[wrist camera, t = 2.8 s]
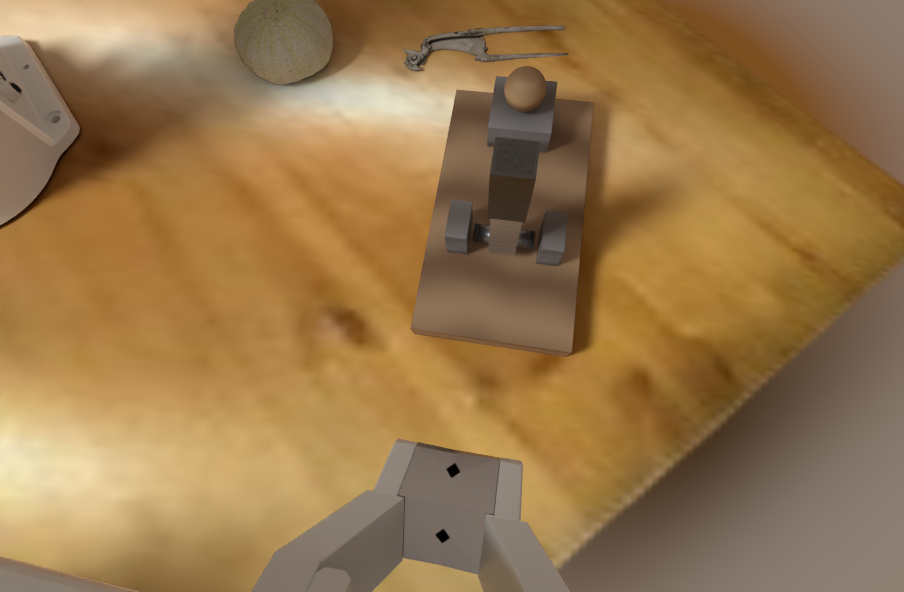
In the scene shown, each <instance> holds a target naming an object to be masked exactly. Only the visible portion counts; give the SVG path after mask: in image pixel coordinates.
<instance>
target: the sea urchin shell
mask: <svg viewBox="0 0 904 592" xmlns="http://www.w3.org/2000/svg"><path fill="white" fill-rule="evenodd" d="M332 34H333V30H332V25H331V24H330V20H329V18H327V15H326V14H325V12H324V10H323V9H322V7H320V5H318V4H317V3H316V2H314V1H313V0H254V1H252V2H250V3H249V4H248V6H247V7H246V9H245V10H244V11H243V12H242V14H241V15H240V17H239V20H238V22H237V23H236V25H235V29H234V41H235V43H234V44H235V47H236V48H237V51H238V52H239V54H240V57H241V58H242V61H243V62H245V64H246V66H248V67H249V68H250V69H251V70H252V71H253V72H254V73H255V74H256V75H257V76H259V77H260V78H263V79H265V80H267V81H269V82H271V83H274V84H282V85H284V84H289V83H294V82H298V81H300V80H301V79H303V78H306V77H309V76H313V74H315V73H316V72H318V71H320V70H322V69H323V68H324V67H325V66H326V64H327V63H328V62H329V60H330V57H331V53H332V49H333V42H334V41H333V35H332Z"/></svg>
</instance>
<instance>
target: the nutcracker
mask: <svg viewBox="0 0 904 592" xmlns="http://www.w3.org/2000/svg"><path fill="white" fill-rule="evenodd" d="M544 30H564V26H526V27H500V28H485V29H483V28H477V29H471V30H467V31H459V32H451V33H445V34H439V35H434V36H429V37H427V38H425V39H424V41H423V44H422V45H421V51H420V52H416V51H414V50H406V49H404V51H405V52H406V53H407V54H409V55H408V56H407V57H406V58H407V60H406V61H405V62H404V64H406V65H405V66H407V67H408V68H410V70H412V71H413V70H415V71H416V70H422V68H420V67H418V65H420V64H422V65H423V64H424V63H425V61H426V58H427V57H428V56H429V54H430V53H431V52H434V51H439V50H455V51H460V52H465V53H468V54H471V55H475V56H476V57H475V61H477V60H479V61H481V62H494V61H501V60H511V59H523V58H536V57H548V56H562V55H568V53H531V54H509V55H488V54H486V51H487V50H488V47H486V48H485V46H486V44H485V39H484V38H480V37H483V36H485V35H490V34H496V33H507V32H524V31H544Z"/></svg>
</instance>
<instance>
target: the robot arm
mask: <svg viewBox="0 0 904 592" xmlns="http://www.w3.org/2000/svg"><path fill="white" fill-rule="evenodd" d="M79 130H80V128H79V125H78V123H77V121H76V120H75V118H74V116H73V115H72V113H71V112H70V110H69V108H68V107H67V105H66V103H65V102H64V100H63V98H62V97H61V95H60V93H59V92H58V90H57V89H56V87H55V85H54V84H53V82H52V80H51V79H50V77H49V75H48V74H47V72H46V70H45V69H44V67H43V65H42V64H41V62H40V61H39V59H38V57H37V56H36V54H35V52H34V51H33V49H32V48H31V46H30V45H29V44H28V43H27V42H26V41H24V40H23V39H22V38H20V37H18V36H0V225H1V224H3V223H5V222H7V221H8V220H10V219H11V218H13V217H14V216H16V215H17V214H18V213H20V212H21V211H22V210H23V209H25V208H26V207H27V206H28V205H29V204H30V203H31V202H32V201H33V200H34V199H35V198H36V197H37V195H38V194H39V193H40V192H41V190H42V189H43V188H44V186H45V185H46V183H47V181H48V180H49V178H50V176H51V174H52V172H53V169H54V167H55V165H56V163H57V161H58V159H59V157H60V155H61V154H62V153H63V152H64V151H65V150H66V149H67V148H68V147H69V146H70V145H71V143H72V142H73V141H74V140H75V138H76V137H77V135H78V134H79ZM522 472H523V464H522V461H518V460H512V459H506V458H499V457H493V456H487V455H481V454H476V453H470V452H464V451H457V450H453V449H448V448H443V447H438V446H433V445H429V444H424V443H419V442H418V443H416V442H412V441H407V440H402V439H397V440H396V441H395V443H394V444H393V447H392V449H391V451H390V454H389V456H388V458H387V461H386V463H385V465H384V467H383V470H382V472H381V474H380V477H379V479H378V481H377V484H376V486H375V488H374V490H373V491H369V490H366V491H365V492H364V493H362V494H361V495H359V496H358V497H356V498H355V499H353V500H352V501H350V502H349V503H347V504H346V505H344V506H343V507H341V508H340V509H338V510H337V511H335V512H334V513H332V514H331V515H329V516H328V517H327V518H325V519H324V520H322V521H321V522H319V523H318V524H316V525H315V526H313V527H312V528H310V529H309V530H307V531H306V532H304V533H303V534H301V535H300V536H298V537H297V538H295V539H294V540H293V541H291V542H290V543H288V544H287V545H285V546H284V547H282V548H281V549H279V550H278V551H276V552H275V553H274V555H273V556H272V558H271V560H270V561H269V563H268V565H267V566H266V568H265V570H264V571H263V573H262V575H261V576H260V578H259V580H258V581H257V583H256V585H255V586H254V588H253V590H252V591H251V592H372V591H373V590H374V589H375V588H376V587H377V586H378V585H379V584H380V583H381V582H382V581H383V580H384V579H385V578H386V577H387V576H388V575H389V574H390V573H391V572H392V570H393V569H394V568H395V567H396V566H397V565H398V564H399V563H400V562H401V561H402V558H406V559H411V560H417V561H422V562H427V563H433V564H438V565H440V564H441V565H442V566H446V567H450V568H454V569H458V570H462V571H466V572H470V573H474V574H478V578H479V580H480V583H481V586H482V588H483V591H484V592H570V591H569V589H568V588H567V586H566V584H565V583H564V581H563V580H562V578H561V576H560V575H559V573H558V571H557V570H556V568H555V567H554V565H553V563H552V562H551V560H550V559H549V557H548V555H547V554H546V552H545V550H544V549H543V547H542V546H541V544H540V542H539V541H538V539H537V538H536V536H535V534H534V533H533V531H532V529H531V528H530V526H529V525H528V523H527V522H523V521H520V519H521V496H522ZM0 592H140V591H136V590H132V589H128V588H124V587H120V586H116V585H112V584H109V583H105V582H101V581H97V580H93V579H89V578H85V577H81V576H77V575H73V574H69V573H65V572H62V571H58V570H54V569H50V568H46V567H42V566H38V565H34V564H30V563H26V562H22V561H18V560H15V559H11V558H7V557H3V556H0Z"/></svg>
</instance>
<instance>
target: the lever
mask: <svg viewBox="0 0 904 592" xmlns="http://www.w3.org/2000/svg"><path fill="white" fill-rule="evenodd" d="M540 142H541V141H531V140H522V139H512V138H502V137H495V143H494V150H493V156H492V162H491V169H490V177H489V195H488V214H487V218H491V220H490V225H484V224H476V223H475V227H474V234H473V242H480V243H488V244H489V249H488V253H496V254H503V255H511V256H515V251H516V247H519V248H527V249H533V246H534V240H535V231H532V230H524V229H521V225H522V222H524V223H525V222H526V218H527V214H528V210H529V206H530V202H531V198H532V193H533V189H534V185H535V181H536V174H537V166H538V158H539V150H540Z"/></svg>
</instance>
